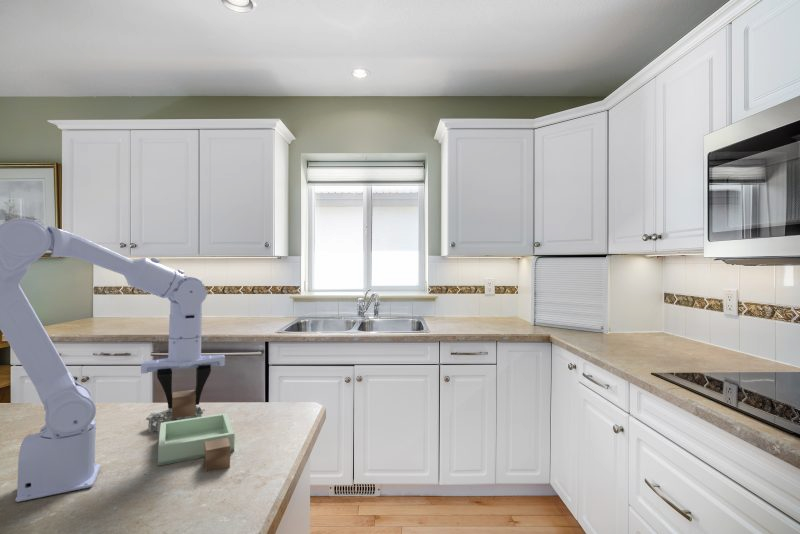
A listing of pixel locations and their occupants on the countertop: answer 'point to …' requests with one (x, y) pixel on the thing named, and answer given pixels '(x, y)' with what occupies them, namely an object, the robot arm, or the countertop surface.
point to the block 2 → (217, 455)
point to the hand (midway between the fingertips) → (183, 405)
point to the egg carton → (167, 418)
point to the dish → (192, 437)
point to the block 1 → (183, 404)
